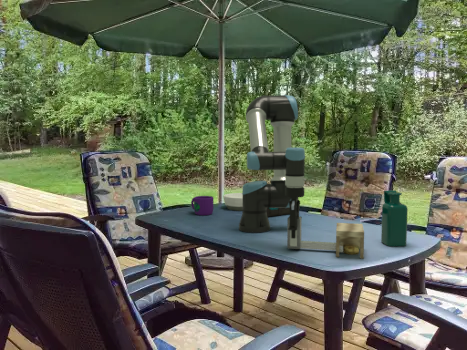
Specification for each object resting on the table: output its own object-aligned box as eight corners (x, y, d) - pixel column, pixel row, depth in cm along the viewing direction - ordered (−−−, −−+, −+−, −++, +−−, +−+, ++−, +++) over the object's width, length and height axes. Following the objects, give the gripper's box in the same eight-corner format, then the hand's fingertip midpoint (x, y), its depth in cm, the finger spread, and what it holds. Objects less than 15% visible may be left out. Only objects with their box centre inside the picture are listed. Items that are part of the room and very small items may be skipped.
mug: (217, 214, 252) (217, 197, 251) (202, 216, 244) (202, 199, 243) (199, 210, 264) (198, 194, 264) (183, 212, 257) (183, 196, 256)
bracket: (286, 249, 172) (287, 219, 171) (289, 244, 179) (289, 215, 177) (343, 252, 166) (343, 221, 165) (343, 247, 173) (343, 218, 172)
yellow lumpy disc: (351, 255, 165) (351, 249, 165) (339, 252, 170) (339, 245, 170) (362, 253, 169) (362, 246, 168) (350, 249, 174) (350, 243, 173)
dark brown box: (300, 219, 250) (257, 218, 235) (293, 220, 256) (250, 219, 240) (300, 200, 252) (257, 198, 237) (292, 201, 258) (250, 199, 242)
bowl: (247, 213, 255) (247, 199, 254) (216, 209, 268) (216, 196, 267) (266, 207, 274) (266, 194, 273) (236, 204, 286) (236, 191, 285)
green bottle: (408, 246, 178) (409, 193, 176) (388, 246, 177) (389, 193, 175) (397, 240, 188) (398, 190, 186) (378, 241, 187) (379, 190, 185)
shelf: (335, 256, 164) (336, 230, 163) (336, 246, 178) (336, 222, 177) (363, 258, 161) (364, 232, 160) (361, 248, 176) (362, 223, 175)
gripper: (302, 189, 163) (301, 250, 165) (306, 184, 180) (305, 239, 182) (282, 189, 164) (281, 249, 167) (288, 183, 182) (287, 238, 184)
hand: (294, 244), depth 174 cm, fingers closed on bracket, 5 cm apart
